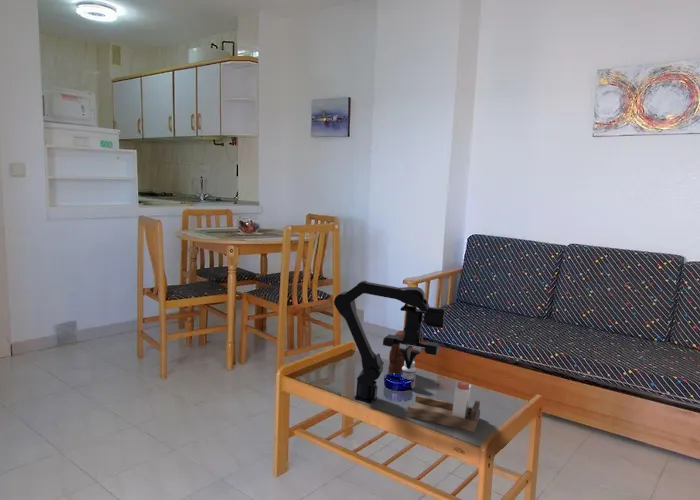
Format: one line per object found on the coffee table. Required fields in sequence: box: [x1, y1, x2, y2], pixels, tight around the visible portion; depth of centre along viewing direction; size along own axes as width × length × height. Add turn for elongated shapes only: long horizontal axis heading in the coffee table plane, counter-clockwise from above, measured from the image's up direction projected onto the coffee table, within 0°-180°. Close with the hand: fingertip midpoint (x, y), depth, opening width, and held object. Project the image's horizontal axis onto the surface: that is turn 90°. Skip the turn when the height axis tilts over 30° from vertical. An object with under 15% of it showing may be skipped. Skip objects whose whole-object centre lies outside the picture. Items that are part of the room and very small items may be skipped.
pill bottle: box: [400, 360, 417, 389], centre depth 195 cm, size 5×5×10 cm
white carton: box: [452, 381, 472, 419], centre depth 167 cm, size 4×8×11 cm, turn 158°
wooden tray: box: [406, 394, 481, 433], centre depth 169 cm, size 22×12×6 cm, turn 69°
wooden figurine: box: [387, 330, 413, 374], centre depth 207 cm, size 12×6×18 cm, turn 151°
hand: (408, 368), depth 176 cm, fingers closed
